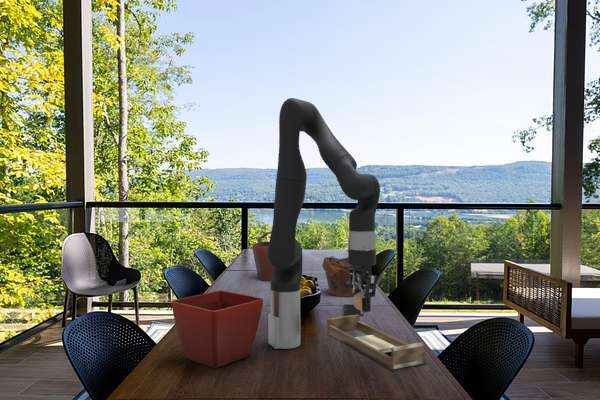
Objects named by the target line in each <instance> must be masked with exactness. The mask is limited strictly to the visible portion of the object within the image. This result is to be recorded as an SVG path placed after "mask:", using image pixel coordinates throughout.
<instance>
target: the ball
mask: <svg viewBox="0 0 600 400" xmlns="http://www.w3.org/2000/svg"><path fill="white" fill-rule="evenodd" d="M352 302H353V304H352V305H354V306H355V308H356V309H358V310H361V311H362V292H359V293H357V294H356V295H355V296H353V299H352Z"/></svg>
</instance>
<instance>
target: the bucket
mask: <svg viewBox="0 0 600 400" xmlns="http://www.w3.org/2000/svg"><path fill="white" fill-rule="evenodd" d="M268 235H271V231H267V232H264V233H262V234H261V235H260V236H259V237H258V238H257V241H256V242H257V243H255V242H254V243H252V253H253V259H254V263H255V268H256V273H257V279H258V280H260V281H262V282H269V283H271V279H272V277H273V273H274V267H273V266H272V265H271V263H270V262H269V259H268V246H269V241H262V239H265V238H266V237H267V236H268Z"/></svg>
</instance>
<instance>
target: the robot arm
mask: <svg viewBox="0 0 600 400" xmlns="http://www.w3.org/2000/svg"><path fill="white" fill-rule="evenodd" d="M278 117H279V118H278V119H279V120H278V131H279V133H278V137H279V138H278V156H277V158H278V159H277V168H276V169H277V170H276V177H275V186H274V187H275V188H274V191H275V192H274V202H273V203H274V204H273V215H272V216H273V218H272V219H273V220H272V226H271V231H270V232H271V233H270V237H269V241H268V242H269V246H268V259H269V262H270V263H271V265H272V266H273V267H274V273H273V277H272V279H271V282H270V286H269V287H270V288H269V289H270V312H269V313H268V314H267V322H268V325H267V329H268V330H267V331H268V332H267V343H268V345H270V346H271V347H272V348H273V349H275V350H278V349H283V350H291V349H294V348H297V347H299V346H300V345H301V284H302V283H301V282H302V279H303V247H302V245H301V243H300V241H299V240H298V239H296V232H297V231H296V229H297V224H298V220H299V216H300V214H301V211H302V208H303V204H304V201H305V197H306V191H307V189H306V188H307V177H308V176H307V175H308V174H307V170H306V166H305V163H304V160H303V158H302V157H303V156H302V154H301V149H300V136H301V135H300V134H301V132H303V133H305V134H307V136H308V137H310V138H311V139H312V140H313V141H314V143H315V144H316V146H317V149H318V152H319V155H320V158H321V160H322V161H323V162H324V163H325V165H326V166H327V167H328V168H329V170H330V171H331V172H332V174H334V175H335V178H336V180H337V182H338V185H339V186H340V188H341V191H342V192H343V193H344V195H346V197H347V198H349V199H351V200H353V201H357V203H356V207H354V208H353V209H352V210H351V211H350V212H349V215H348V238H347V241H348V242H347V251H348V252H347V253H348V254H347V256H348V263H349V264H350V265H353V268H349V269H348V271H349V282H350V289H351V290H353V293H354V296H355V295H356V294H357V293H359V292H362V311H363V313H369V312H371V305H372V298H375V297H376V289H377V283H378V282H377V281H378V276H377V275H373V274H372V266H375V265H376V264H377V238H376V214H377V208H378V206H379V199H380V196H381V186H380V182H379V180H378V178H377V177H376V176H375V175H373V174H369V173H364V174H363V173H359V172H358V171H357V167H358V165H357V164H358V163H357V161H356V160H355V158H354V156H352V155H351V153H349V151H348V150H347V149H346V148H345V147H344V145H342V143H341V142H340V141H339V139H337V137H336V136H335V135H334V133H333V132H332V131H331V128H329V126H328V124H327V122H326V121H325V119H324V118H323V116H322V114H321V113H320V110H319V109H318V108H317V107H316V106H315V104H314V103H311V102H310V101H306V100H302V99H299V98H294V97H290V98H287V99H286V100H285V101H284V102H283V103H282V105H281V107H280V111H279V116H278ZM354 296H353V297H354Z"/></svg>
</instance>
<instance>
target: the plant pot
mask: <svg viewBox="0 0 600 400" xmlns="http://www.w3.org/2000/svg"><path fill="white" fill-rule="evenodd" d="M263 305H264V298H263V297H262V298H261V297H257V296H253V295H247V294H243V293H239V292H238V293H237V292H232V291H226V290H216V291H212V292H206V293H202V294H196V295H191V296H187V297H183V298H177V299H173V300H171V309H172V314H173V319H174V323H175V327H176V331H177V333H178V338H179V341H180V344H181V346H182V348H183V351H184V354H185V356H186V358H187V359H188V360H191V361H194V362H196V363H199V364H201V365H205V366H207V367H210V368H213V369H216V368H220V367H223V366H225V365H226V366H227V365H228V364H232V363H234V362H236V361H239V360H241V359H245V358H247V357H248V356H249V354H250V352H251V349H252V346H253V344H254V340H255V338H256V335H257V332H258V327H259V324H260V320H261V315H262V309H263Z"/></svg>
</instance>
